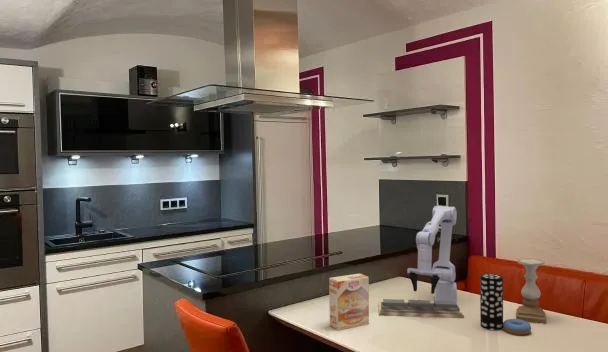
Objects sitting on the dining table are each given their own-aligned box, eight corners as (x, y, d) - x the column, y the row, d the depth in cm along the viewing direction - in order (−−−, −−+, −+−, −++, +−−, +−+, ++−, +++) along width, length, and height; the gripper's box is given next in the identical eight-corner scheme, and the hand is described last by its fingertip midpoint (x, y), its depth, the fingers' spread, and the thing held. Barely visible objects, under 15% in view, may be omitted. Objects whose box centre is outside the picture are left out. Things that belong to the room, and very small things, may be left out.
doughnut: (529, 337, 177) (529, 325, 177) (500, 334, 182) (500, 321, 182) (532, 331, 185) (532, 319, 186) (505, 328, 190) (504, 316, 191)
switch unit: (457, 306, 214) (457, 301, 214) (464, 318, 200) (464, 311, 200) (378, 304, 219) (378, 299, 219) (379, 315, 205) (379, 309, 205)
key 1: (403, 302, 213) (403, 299, 213) (404, 306, 208) (404, 303, 208) (383, 302, 214) (383, 299, 214) (383, 305, 209) (383, 302, 209)
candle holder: (545, 315, 201) (545, 259, 200) (546, 324, 191) (546, 264, 190) (516, 312, 206) (516, 257, 205) (515, 320, 196) (516, 262, 195)
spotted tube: (502, 324, 192) (502, 274, 191) (503, 331, 184) (503, 279, 183) (480, 322, 194) (480, 273, 194) (480, 329, 187) (480, 278, 186)
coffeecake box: (338, 330, 187) (337, 281, 187) (329, 325, 194) (328, 277, 193) (369, 324, 194) (369, 276, 193) (359, 319, 201) (359, 272, 200)
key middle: (429, 303, 211) (429, 300, 211) (430, 307, 206) (430, 303, 206) (408, 303, 213) (408, 299, 212) (409, 306, 208) (409, 303, 208)
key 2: (455, 304, 210) (455, 300, 210) (457, 307, 205) (457, 304, 205) (433, 303, 211) (433, 300, 211) (435, 307, 206) (435, 303, 206)
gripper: (405, 259, 205) (404, 291, 205) (438, 262, 197) (437, 296, 197) (410, 257, 211) (410, 288, 211) (443, 261, 203) (443, 293, 203)
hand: (423, 292), depth 204 cm, fingers open, 7 cm apart
